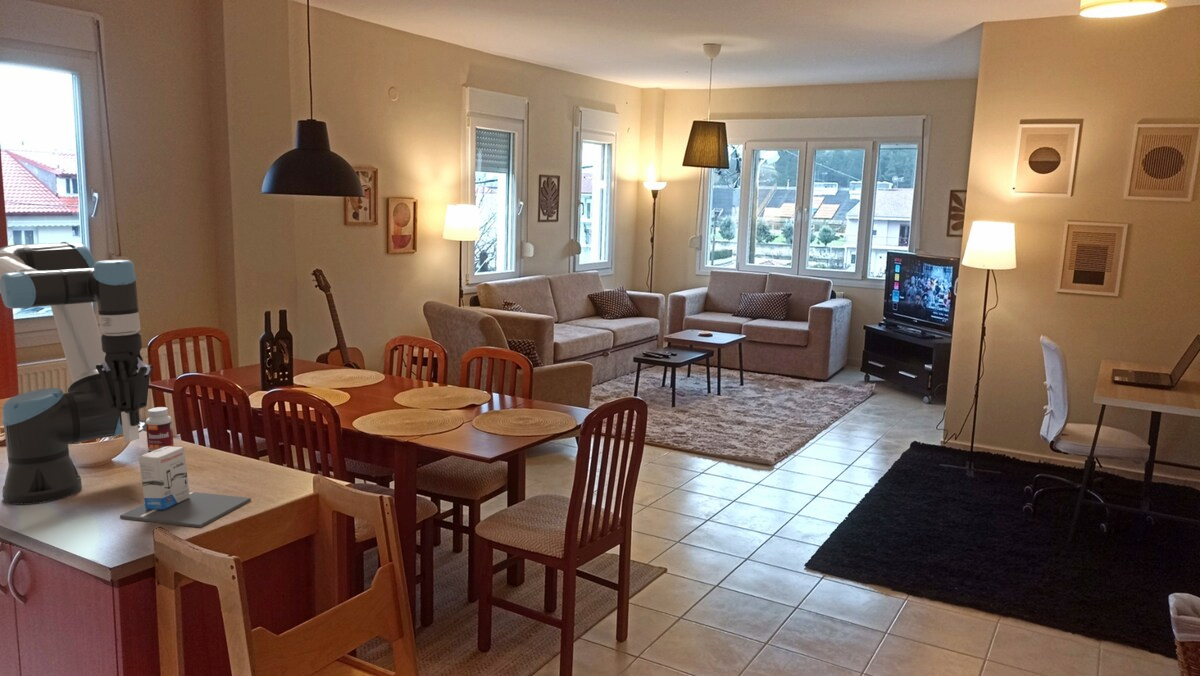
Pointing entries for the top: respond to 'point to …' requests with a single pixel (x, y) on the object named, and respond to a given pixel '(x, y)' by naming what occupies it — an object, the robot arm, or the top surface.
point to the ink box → (164, 477)
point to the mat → (189, 510)
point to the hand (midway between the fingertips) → (131, 439)
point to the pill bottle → (159, 429)
